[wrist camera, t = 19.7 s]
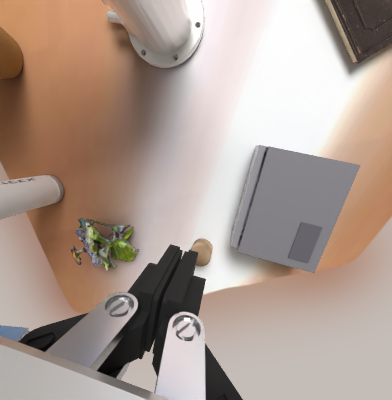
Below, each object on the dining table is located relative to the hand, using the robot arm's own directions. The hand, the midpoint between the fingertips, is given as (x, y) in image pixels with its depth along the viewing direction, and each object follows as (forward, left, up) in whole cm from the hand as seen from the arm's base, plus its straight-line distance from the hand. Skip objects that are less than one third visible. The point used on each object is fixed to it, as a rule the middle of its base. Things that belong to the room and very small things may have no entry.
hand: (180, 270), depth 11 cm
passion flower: (-19, -15, -27) cm, 37 cm away
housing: (+12, 0, -27) cm, 30 cm away
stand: (0, -13, -27) cm, 30 cm away
